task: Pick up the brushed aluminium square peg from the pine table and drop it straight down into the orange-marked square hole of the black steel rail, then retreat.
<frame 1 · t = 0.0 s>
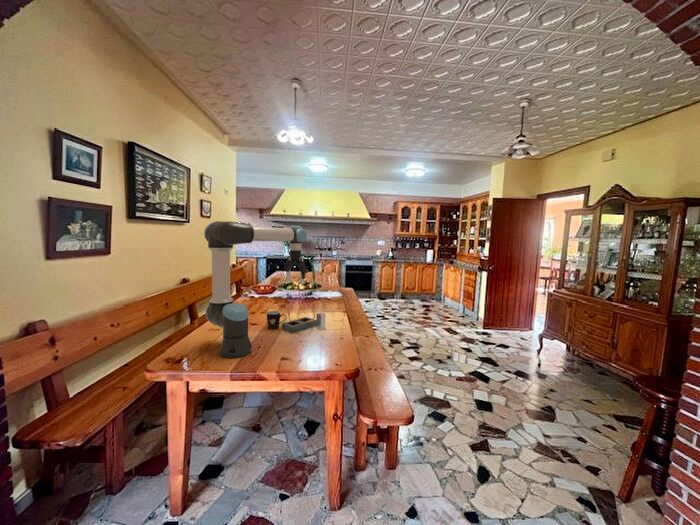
hand: (295, 282, 189), 28 cm above the table, tool pointing down, fingers open, 13 cm apart
aluminium peg: (320, 328, 185), on the table
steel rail: (299, 327, 186), on the table
coffee mug: (275, 328, 183), on the table
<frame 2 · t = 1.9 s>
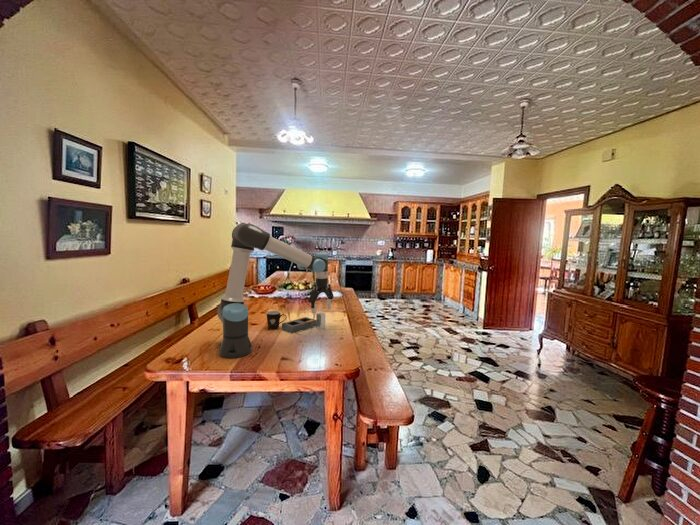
hand: (321, 311, 184), 11 cm above the table, tool pointing down, fingers open, 13 cm apart
nothing on the table moved.
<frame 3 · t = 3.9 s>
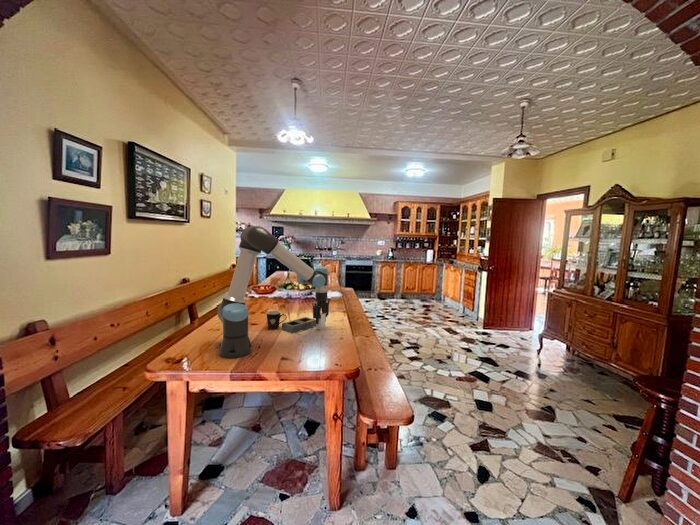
hand: (320, 327, 185), 1 cm above the table, tool pointing down, fingers closed on aluminium peg, 4 cm apart
aluminium peg: (320, 328, 185), on the table, touching gripper
everything else where it was.
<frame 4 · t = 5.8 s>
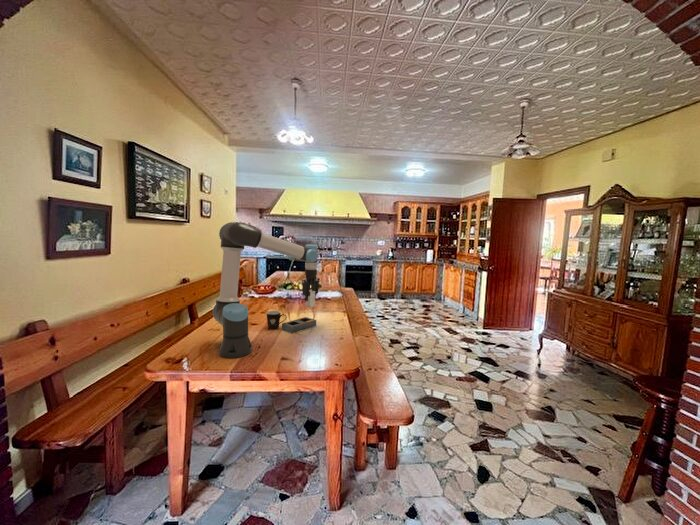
hand: (310, 305, 187), 14 cm above the table, tool pointing down, fingers closed on aluminium peg, 4 cm apart
aluminium peg: (310, 306, 187), point 14 cm above the table, touching gripper
everything else where it was.
when the fingers open (6 cm above the table, at t = 7.5 s): aluminium peg drops 5 cm, resting in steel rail.
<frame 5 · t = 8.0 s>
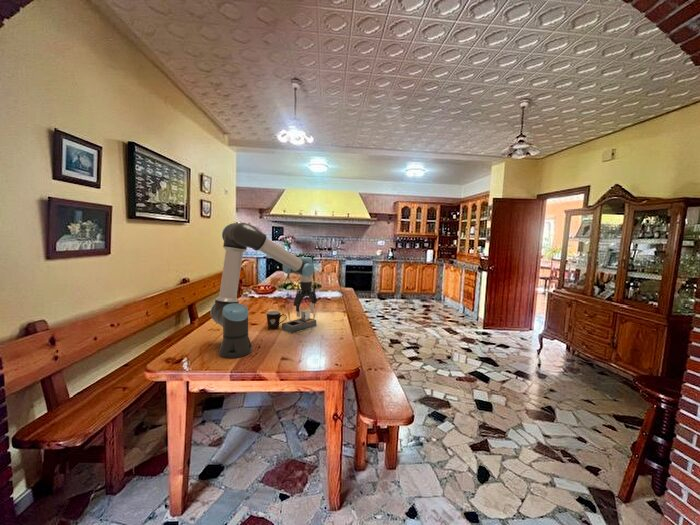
hand: (305, 314, 189), 8 cm above the table, tool pointing down, fingers open, 11 cm apart
aluminium peg: (305, 326, 190), resting in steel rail
everything else where it was.
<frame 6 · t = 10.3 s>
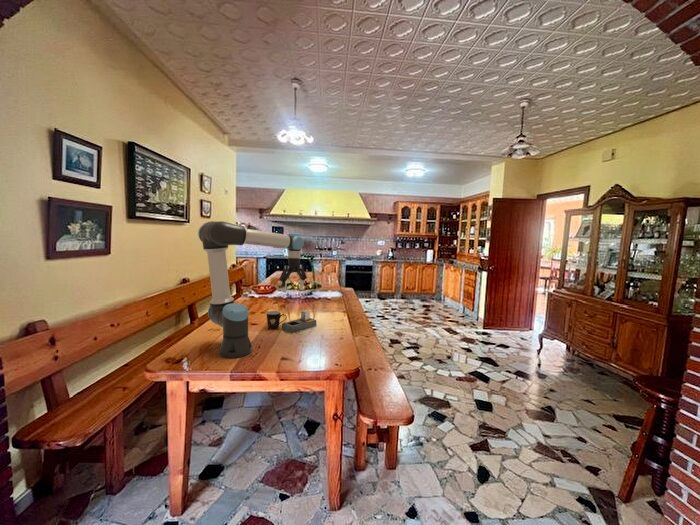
hand: (293, 291, 184), 23 cm above the table, tool pointing down, fingers open, 13 cm apart
nothing on the table moved.
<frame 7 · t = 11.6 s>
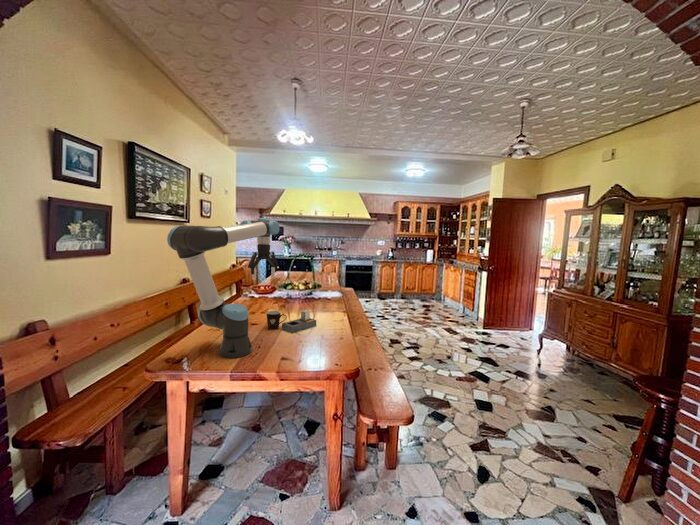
hand: (263, 278, 178), 32 cm above the table, tool pointing down, fingers open, 13 cm apart
nothing on the table moved.
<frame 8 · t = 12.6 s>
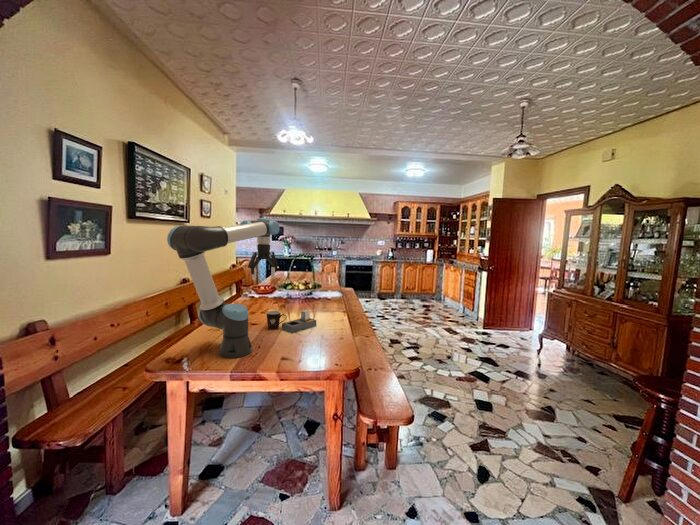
hand: (263, 278, 178), 32 cm above the table, tool pointing down, fingers open, 13 cm apart
nothing on the table moved.
at the end: aluminium peg 0.1 cm from the target spot on the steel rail, point 0.0 cm above the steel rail's base; aluminium peg tilted 0°; the gripper is holding nothing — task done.
